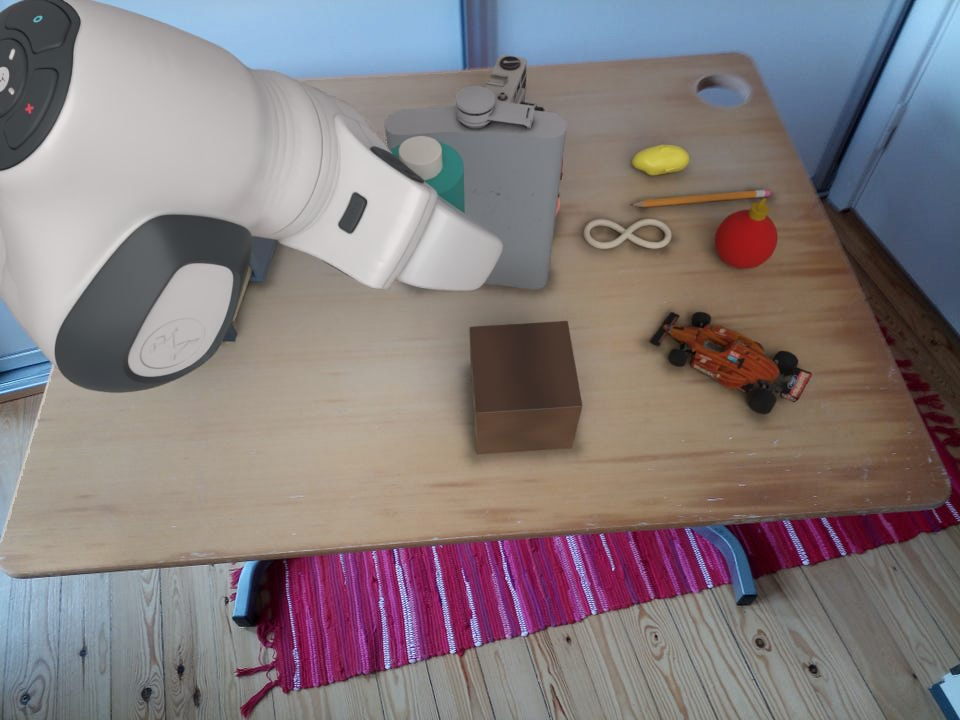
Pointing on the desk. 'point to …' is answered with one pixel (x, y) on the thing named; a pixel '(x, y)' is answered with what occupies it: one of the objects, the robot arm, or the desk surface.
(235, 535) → the desk surface
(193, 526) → the desk surface
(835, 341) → the desk surface
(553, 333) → the stand
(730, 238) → the christmas ornament
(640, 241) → the decorative object
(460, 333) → the desk surface
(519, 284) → the flask
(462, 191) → the detergent bottle
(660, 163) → the lemon
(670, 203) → the pencil
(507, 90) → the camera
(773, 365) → the toy car
